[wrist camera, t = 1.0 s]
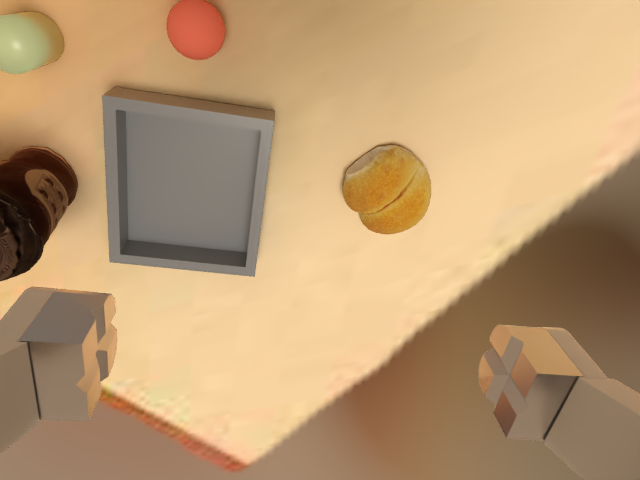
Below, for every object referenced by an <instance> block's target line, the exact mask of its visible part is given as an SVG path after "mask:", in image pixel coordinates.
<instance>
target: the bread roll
mask: <svg viewBox="0 0 640 480" xmlns="http://www.w3.org/2000/svg"><path fill="white" fill-rule="evenodd" d="M343 195H344V199H345V201H346V203H347V205H348V206H349V207H350V208H351V209H352V210H354V211H356V212H358V213H359V215H360V218H361V221H362V223H363V224H364V225H365V226H366V227H367V228H368V229H369V230H371V231H373V232H376V233H381V234H394V233H399V232H402V231H405V230H407V229H409V228H411V227H413V226H414V225H416V224H417V223H418V222H419V221H420V220H421V219H422V218H423V216H424V215H425V213H426V211H427V209H428V206H429V203H430V198H431V180H430V177H429V174H428V172H427V170H426V168H425V166H424V165H423V164H422V163H421V162H420V161H419V160H418V158H416V156H415V155H414V154H413V153H411V152H410V151H408V150H407V149H405V148H402V147H400V146H397V145H387V146H379V147H377V148H375V149H373V150H372V151H370V152H368V153H366V154H365V155H363V156H362V157H361V158H360V159H358V160H357V161H356V162H355V163H354V164H352V165H351V166H350V167H349V168H348V170H347V171H346V176H345V181H344V185H343Z"/></svg>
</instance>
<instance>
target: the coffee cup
mask: <svg viewBox="0 0 640 480" xmlns="http://www.w3.org/2000/svg"><path fill="white" fill-rule="evenodd" d="M76 191H77V180H76V177H75V175H74V173H73V171H72V169H71V167H70V166H69V165H68V164H67V163H66V162H65V160H64V159H63V158H62V157H61V156H59V155H57V154H56V153H54V152H53V151H51V150H50V149H48V148H45V147H35V146H30V147H28V148H26V147H23V148H22V149H20V150H18V151H16V152H15V153H14V154H13V155H12V156H11V158H10V159H9V160H3V161H0V281H3V280H7V279H9V278H12V277H15V276H18V275H20V274H22V273H25V272H27V271H28V270H30V268H32V267H33V266H34V265H35V264H36V263H37V262H38V260H39V259H40V257H41V256H42V252H43V248H44V245H45V243H46V242H47V241H48V239H49V237H50V235H51V234H52V232H53V231H54V229H55V228H56V226H57V224H58V222H59V220H60V219H61V218H62V216H63V214H64V213H65V211H66V209H67V206H69V205H70V204H71V203H72V201H73V200H74V198H75V195H76Z"/></svg>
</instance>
